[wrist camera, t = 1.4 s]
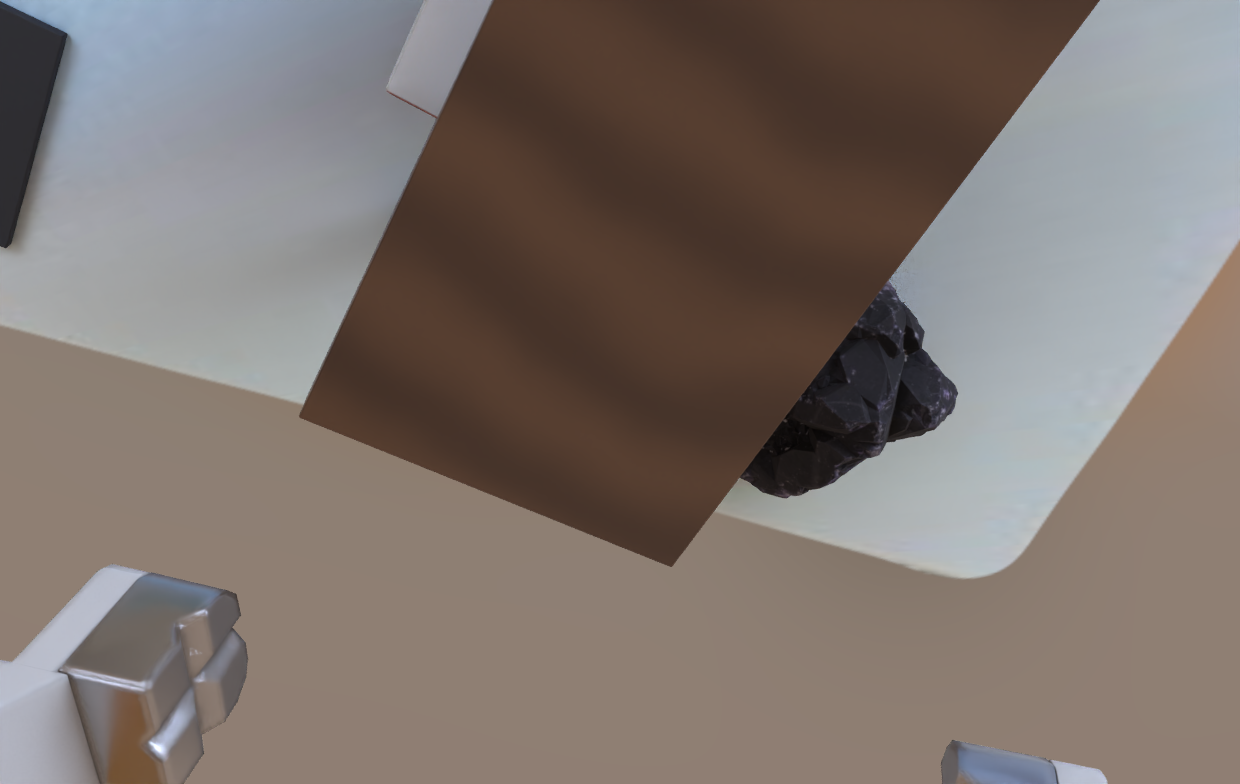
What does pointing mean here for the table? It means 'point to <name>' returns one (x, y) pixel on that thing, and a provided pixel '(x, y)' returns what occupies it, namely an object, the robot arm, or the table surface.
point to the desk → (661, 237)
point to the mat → (22, 103)
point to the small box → (435, 52)
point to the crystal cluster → (856, 403)
